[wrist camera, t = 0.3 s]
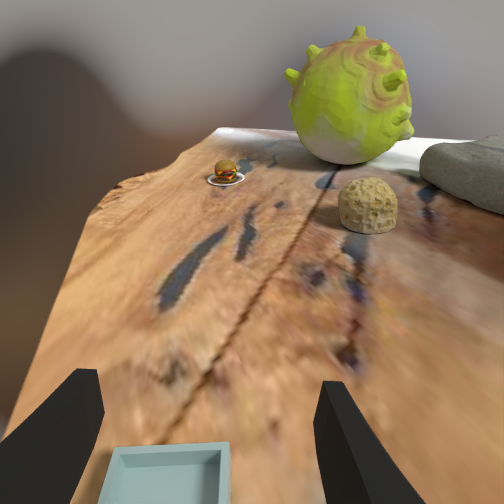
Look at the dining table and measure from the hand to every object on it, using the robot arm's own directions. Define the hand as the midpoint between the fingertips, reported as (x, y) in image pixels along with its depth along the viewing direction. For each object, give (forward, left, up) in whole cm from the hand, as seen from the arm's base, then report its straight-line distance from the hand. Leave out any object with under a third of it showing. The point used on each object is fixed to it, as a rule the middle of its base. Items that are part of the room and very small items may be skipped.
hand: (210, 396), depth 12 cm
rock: (+49, -22, -21) cm, 58 cm away
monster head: (+84, -27, -21) cm, 91 cm away
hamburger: (+75, +4, -21) cm, 78 cm away
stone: (+58, -50, -21) cm, 79 cm away
